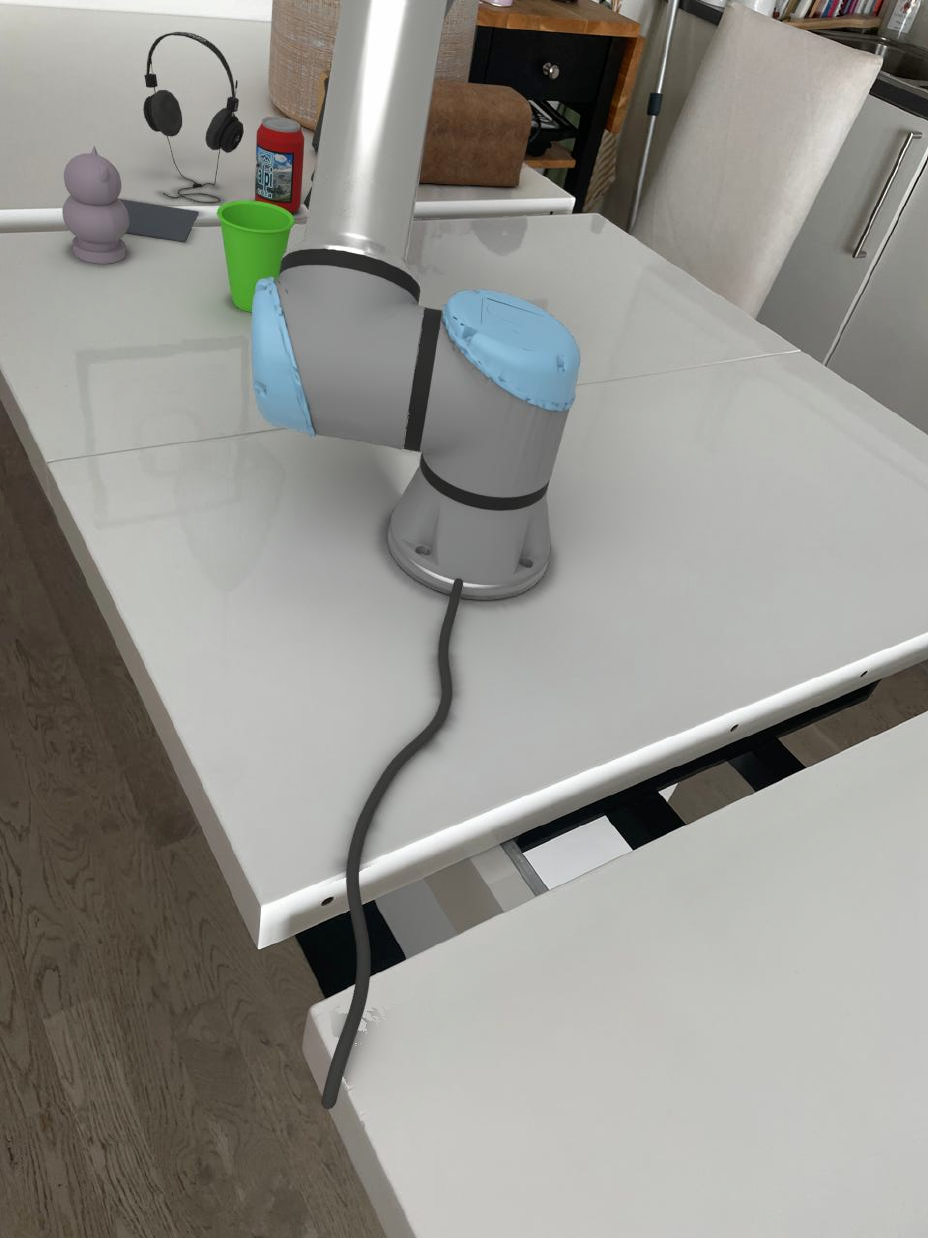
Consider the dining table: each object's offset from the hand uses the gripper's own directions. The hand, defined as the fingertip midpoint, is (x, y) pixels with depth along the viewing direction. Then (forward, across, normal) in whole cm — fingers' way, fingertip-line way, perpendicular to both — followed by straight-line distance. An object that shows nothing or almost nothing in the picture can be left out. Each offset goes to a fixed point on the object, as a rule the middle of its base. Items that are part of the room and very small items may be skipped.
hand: (312, 210), depth 125 cm
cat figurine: (+17, +22, +4) cm, 28 cm away
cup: (+15, 0, +2) cm, 15 cm away
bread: (-30, +12, -43) cm, 53 cm away
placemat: (+8, +25, -5) cm, 26 cm away
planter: (-41, +34, -55) cm, 76 cm away
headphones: (-2, +30, -15) cm, 34 cm away
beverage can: (-5, +17, -18) cm, 25 cm away
